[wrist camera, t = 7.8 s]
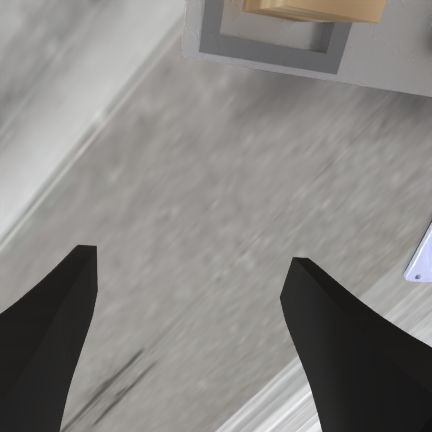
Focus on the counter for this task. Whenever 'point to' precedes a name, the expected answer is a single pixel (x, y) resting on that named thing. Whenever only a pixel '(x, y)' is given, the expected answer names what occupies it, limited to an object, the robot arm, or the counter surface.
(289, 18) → the block
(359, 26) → the rail
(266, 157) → the counter surface
